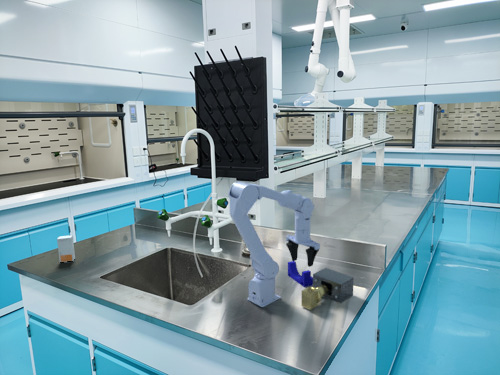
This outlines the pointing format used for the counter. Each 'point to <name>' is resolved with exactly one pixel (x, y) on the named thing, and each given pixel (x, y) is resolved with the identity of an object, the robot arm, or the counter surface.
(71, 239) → the skincare box
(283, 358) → the counter surface
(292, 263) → the cable clip
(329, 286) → the block
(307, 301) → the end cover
